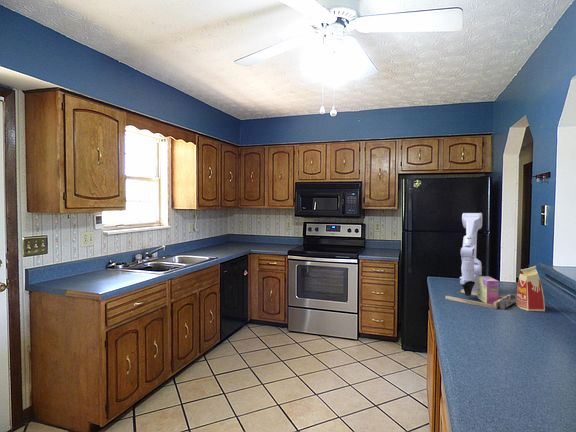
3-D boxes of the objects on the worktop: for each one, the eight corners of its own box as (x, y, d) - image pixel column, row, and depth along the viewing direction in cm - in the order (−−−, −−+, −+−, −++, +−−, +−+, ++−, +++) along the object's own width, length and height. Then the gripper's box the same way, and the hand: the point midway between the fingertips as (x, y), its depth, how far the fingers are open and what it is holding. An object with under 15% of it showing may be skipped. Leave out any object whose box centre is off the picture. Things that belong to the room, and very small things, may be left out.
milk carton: (533, 305, 168) (534, 264, 167) (546, 311, 159) (546, 267, 158) (513, 305, 169) (514, 264, 168) (524, 311, 160) (525, 267, 159)
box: (499, 304, 171) (498, 280, 170) (486, 304, 171) (486, 280, 171) (489, 298, 181) (489, 276, 180) (477, 298, 182) (477, 276, 181)
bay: (461, 292, 194) (461, 285, 194) (518, 302, 173) (518, 294, 173) (445, 298, 182) (445, 291, 182) (504, 310, 161) (504, 302, 161)
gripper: (465, 266, 190) (465, 291, 190) (454, 270, 180) (454, 296, 181) (479, 268, 184) (479, 293, 185) (468, 272, 175) (468, 299, 175)
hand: (468, 295), depth 183 cm, fingers closed
